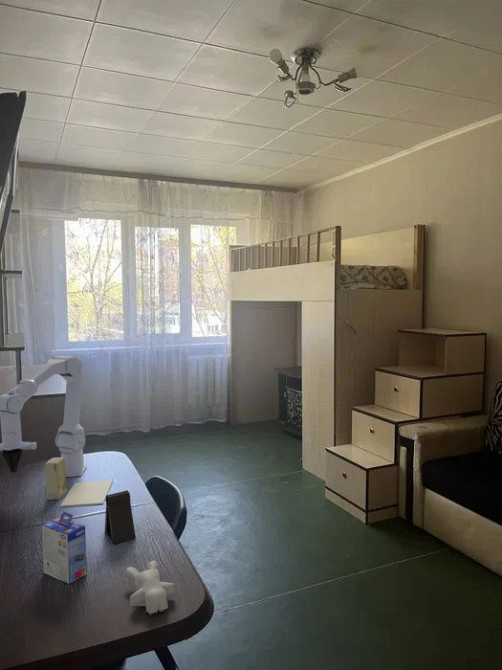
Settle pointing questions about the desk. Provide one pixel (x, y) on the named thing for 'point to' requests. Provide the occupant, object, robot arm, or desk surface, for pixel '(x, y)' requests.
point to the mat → (87, 493)
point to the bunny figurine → (149, 588)
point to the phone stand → (119, 517)
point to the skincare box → (55, 478)
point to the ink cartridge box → (64, 548)
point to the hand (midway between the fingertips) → (14, 471)
